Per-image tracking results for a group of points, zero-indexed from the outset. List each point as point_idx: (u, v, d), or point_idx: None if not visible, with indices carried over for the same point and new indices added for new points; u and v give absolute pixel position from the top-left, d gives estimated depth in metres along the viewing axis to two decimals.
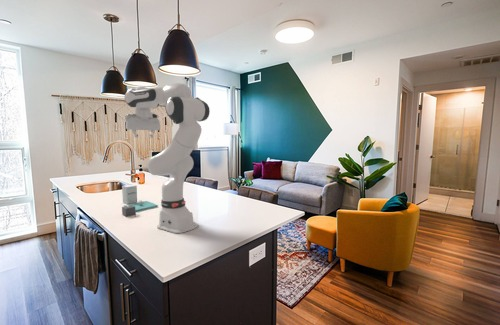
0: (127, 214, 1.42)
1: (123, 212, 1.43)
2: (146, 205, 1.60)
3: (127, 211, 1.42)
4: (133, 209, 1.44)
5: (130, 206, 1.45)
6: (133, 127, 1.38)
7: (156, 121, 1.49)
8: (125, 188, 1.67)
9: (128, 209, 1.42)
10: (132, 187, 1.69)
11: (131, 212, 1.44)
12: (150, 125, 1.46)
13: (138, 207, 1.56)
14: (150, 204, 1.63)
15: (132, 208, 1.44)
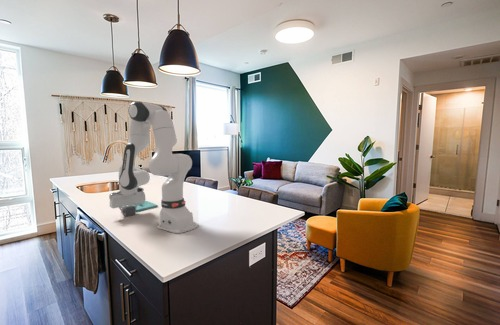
0: (127, 214, 1.42)
1: None
2: (146, 205, 1.60)
3: (127, 211, 1.42)
4: (133, 209, 1.44)
5: (130, 206, 1.45)
6: (117, 205, 1.38)
7: (141, 194, 1.48)
8: None
9: (128, 209, 1.42)
10: None
11: (131, 212, 1.44)
12: (135, 199, 1.46)
13: (138, 207, 1.56)
14: (150, 204, 1.63)
15: (132, 208, 1.44)
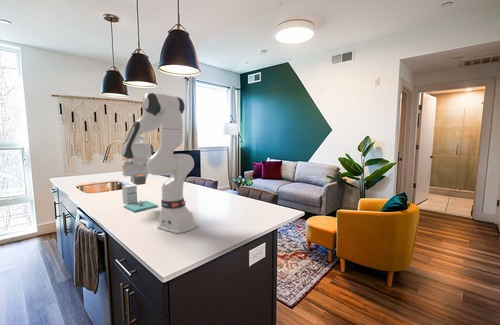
0: (138, 183, 1.56)
1: None
2: (146, 205, 1.60)
3: (138, 180, 1.55)
4: (143, 178, 1.58)
5: (140, 176, 1.59)
6: (129, 174, 1.52)
7: None
8: (125, 188, 1.67)
9: (139, 178, 1.56)
10: (132, 187, 1.69)
11: (142, 181, 1.57)
12: (145, 169, 1.59)
13: (138, 207, 1.56)
14: (150, 204, 1.63)
15: (142, 177, 1.58)
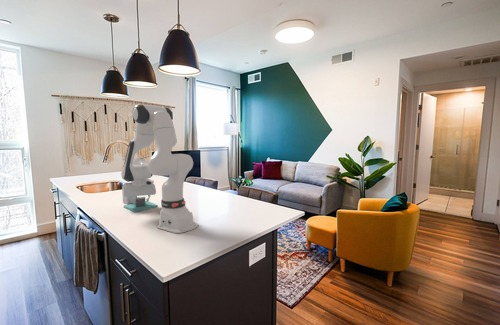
0: (137, 205, 1.57)
1: None
2: (146, 205, 1.60)
3: (137, 202, 1.57)
4: (142, 201, 1.58)
5: (142, 198, 1.60)
6: (128, 194, 1.56)
7: (151, 187, 1.60)
8: None
9: (138, 200, 1.57)
10: None
11: (141, 203, 1.58)
12: (145, 191, 1.59)
13: (138, 207, 1.56)
14: (150, 204, 1.63)
15: (142, 200, 1.58)
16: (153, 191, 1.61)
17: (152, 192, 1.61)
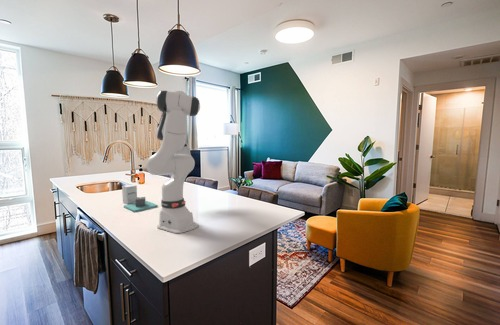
0: (137, 205, 1.57)
1: None
2: (146, 205, 1.60)
3: (137, 202, 1.57)
4: (142, 201, 1.58)
5: (142, 198, 1.60)
6: None
7: (187, 149, 1.69)
8: (125, 188, 1.67)
9: (138, 200, 1.57)
10: (132, 187, 1.69)
11: (141, 203, 1.58)
12: (181, 152, 1.68)
13: (138, 207, 1.56)
14: (150, 204, 1.63)
15: (142, 200, 1.58)
16: (188, 153, 1.69)
17: (187, 154, 1.69)
